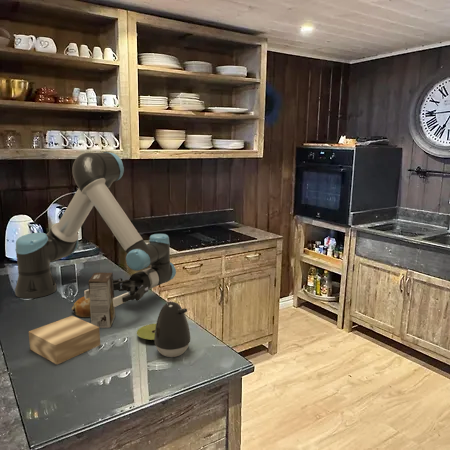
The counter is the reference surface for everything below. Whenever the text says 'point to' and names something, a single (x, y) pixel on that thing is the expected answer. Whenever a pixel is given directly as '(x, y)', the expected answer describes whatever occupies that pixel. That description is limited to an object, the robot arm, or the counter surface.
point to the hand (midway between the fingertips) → (99, 298)
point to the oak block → (64, 339)
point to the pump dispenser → (172, 330)
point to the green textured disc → (147, 331)
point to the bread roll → (82, 307)
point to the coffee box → (101, 299)
